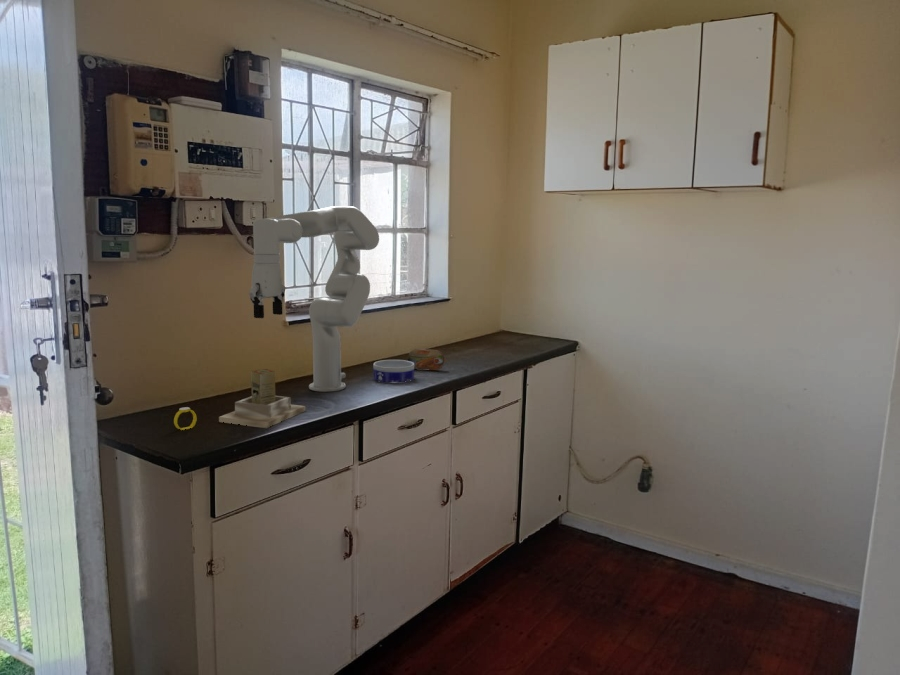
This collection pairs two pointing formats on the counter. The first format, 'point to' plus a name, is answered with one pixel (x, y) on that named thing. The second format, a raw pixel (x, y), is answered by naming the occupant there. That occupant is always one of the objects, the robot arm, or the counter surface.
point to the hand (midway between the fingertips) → (268, 316)
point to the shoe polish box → (263, 386)
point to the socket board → (262, 412)
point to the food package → (426, 359)
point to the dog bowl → (393, 371)
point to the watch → (185, 409)
